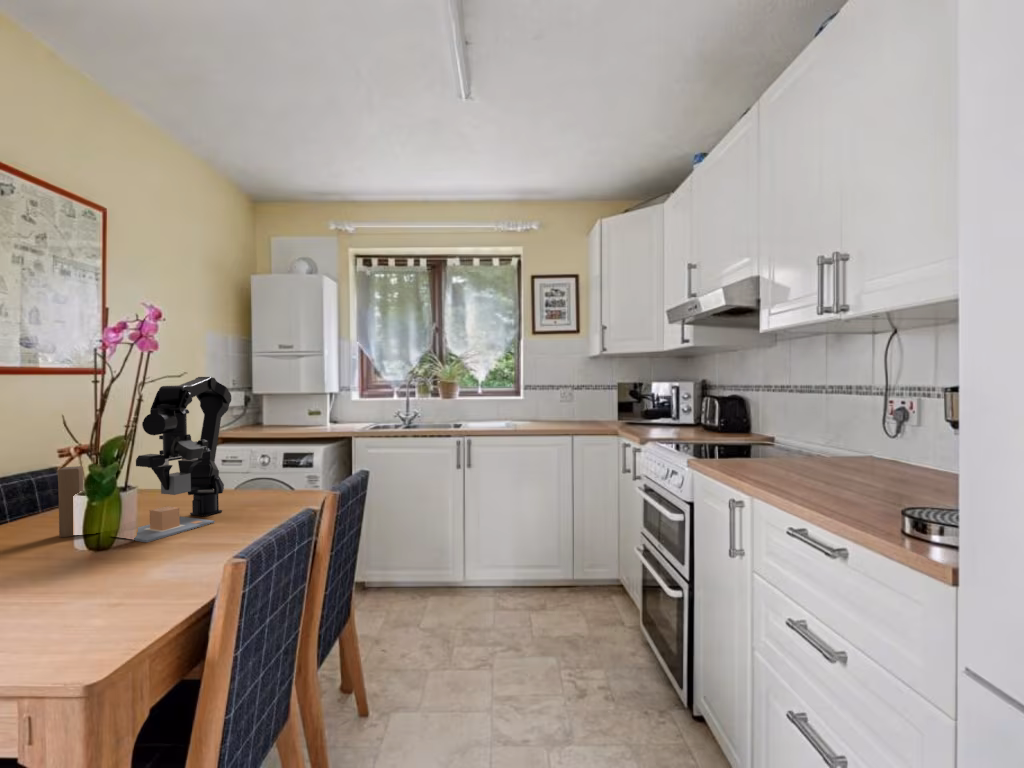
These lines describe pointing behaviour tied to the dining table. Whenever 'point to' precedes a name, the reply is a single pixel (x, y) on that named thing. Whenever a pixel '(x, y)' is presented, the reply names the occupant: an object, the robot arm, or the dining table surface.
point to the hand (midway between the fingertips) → (175, 487)
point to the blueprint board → (185, 524)
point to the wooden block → (68, 497)
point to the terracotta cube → (164, 518)
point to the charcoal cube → (178, 483)
